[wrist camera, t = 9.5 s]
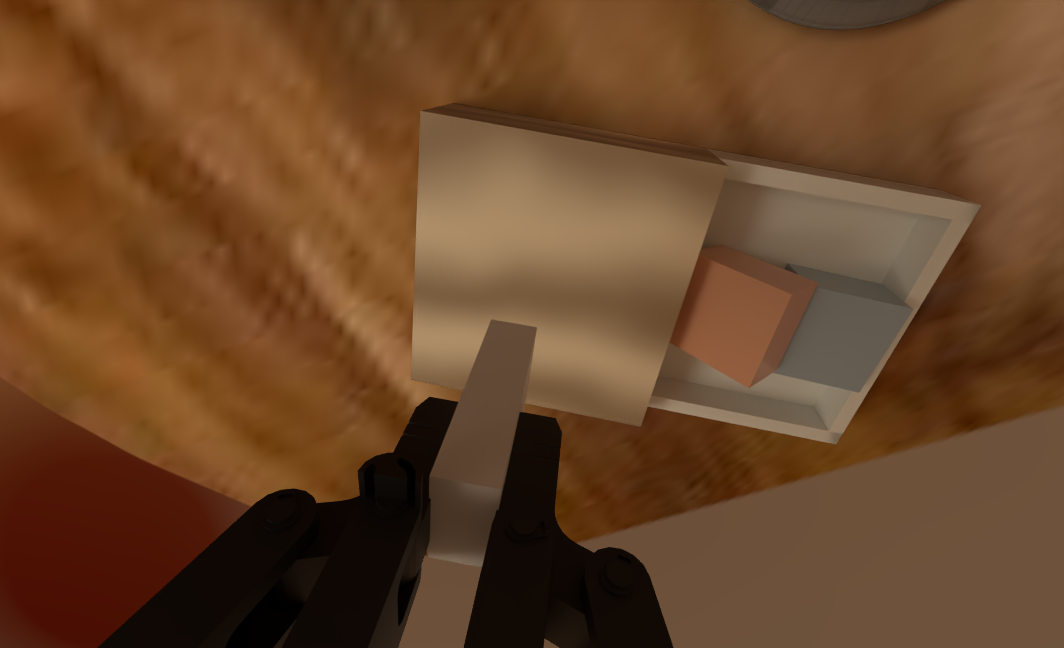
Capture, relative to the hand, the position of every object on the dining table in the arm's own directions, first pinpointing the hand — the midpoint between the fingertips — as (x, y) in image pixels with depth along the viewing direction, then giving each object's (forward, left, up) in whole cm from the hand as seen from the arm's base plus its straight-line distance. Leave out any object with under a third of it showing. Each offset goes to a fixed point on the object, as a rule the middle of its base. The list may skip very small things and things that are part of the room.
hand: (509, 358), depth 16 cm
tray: (+1, +13, -13) cm, 18 cm away
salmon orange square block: (+1, +11, -11) cm, 15 cm away
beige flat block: (+1, 0, -13) cm, 13 cm away
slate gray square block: (+1, +15, -9) cm, 18 cm away
